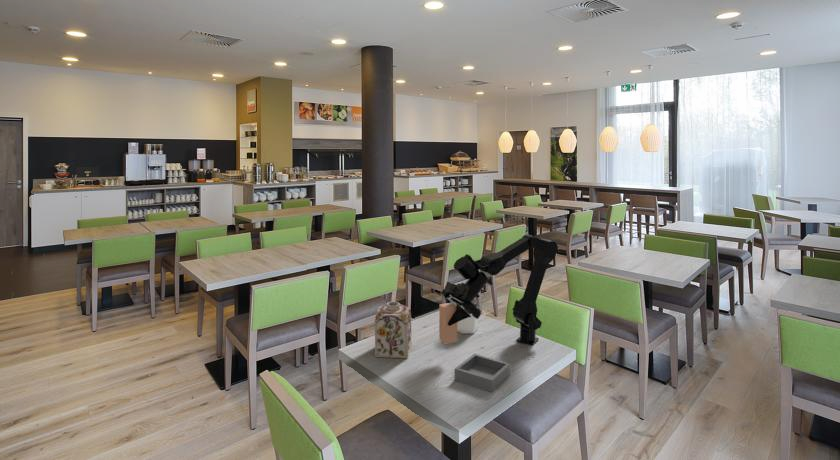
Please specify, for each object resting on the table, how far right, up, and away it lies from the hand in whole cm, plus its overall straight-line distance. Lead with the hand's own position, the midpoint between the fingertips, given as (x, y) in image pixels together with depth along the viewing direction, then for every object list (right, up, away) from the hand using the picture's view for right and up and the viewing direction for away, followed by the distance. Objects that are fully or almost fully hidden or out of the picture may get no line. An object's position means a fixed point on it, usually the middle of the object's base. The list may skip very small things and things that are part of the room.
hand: (444, 322), depth 157 cm
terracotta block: (+1, -6, +2) cm, 7 cm away
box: (+11, -15, -10) cm, 22 cm away
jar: (+10, -9, +28) cm, 31 cm away
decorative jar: (-18, -12, +9) cm, 23 cm away
